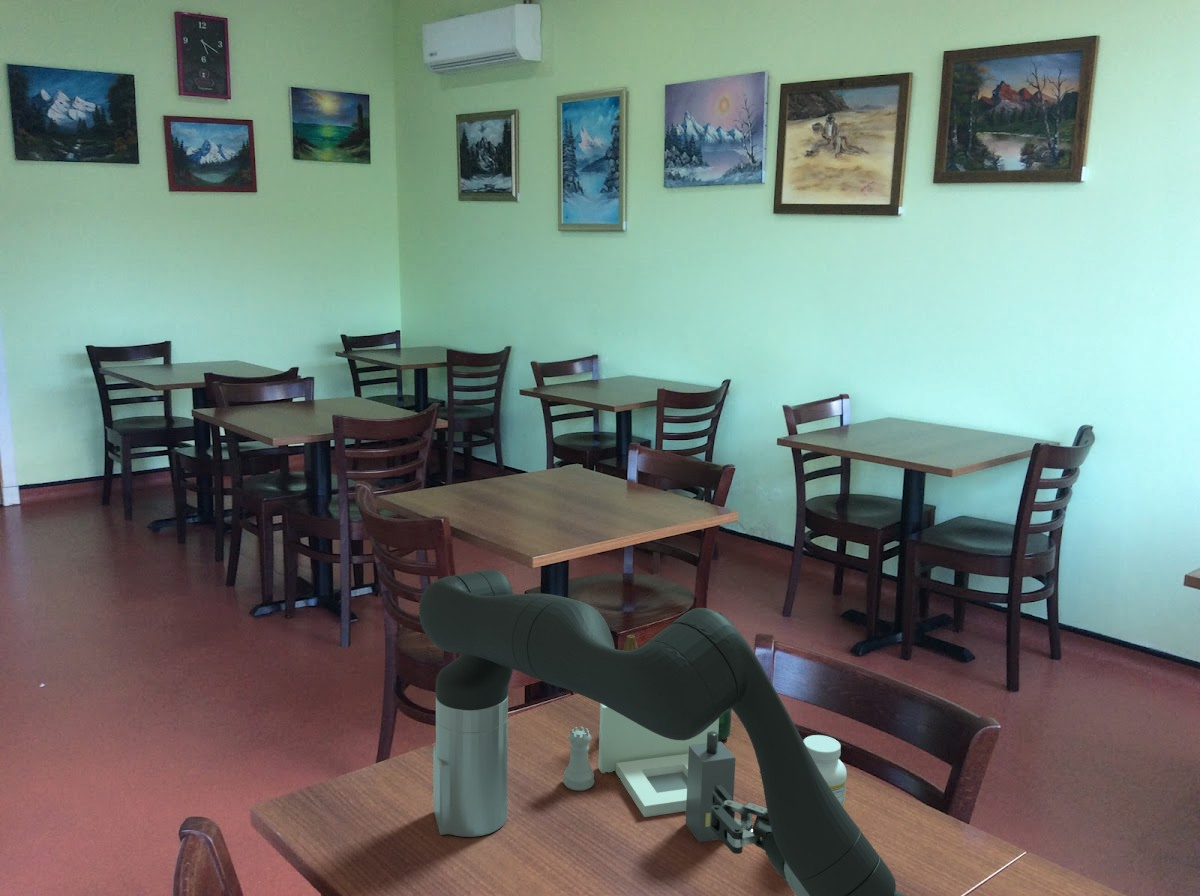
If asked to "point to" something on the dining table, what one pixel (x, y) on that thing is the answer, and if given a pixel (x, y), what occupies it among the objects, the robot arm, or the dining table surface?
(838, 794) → the supplement bottle
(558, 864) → the dining table surface
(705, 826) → the plug
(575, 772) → the rook chess piece
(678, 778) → the socket
